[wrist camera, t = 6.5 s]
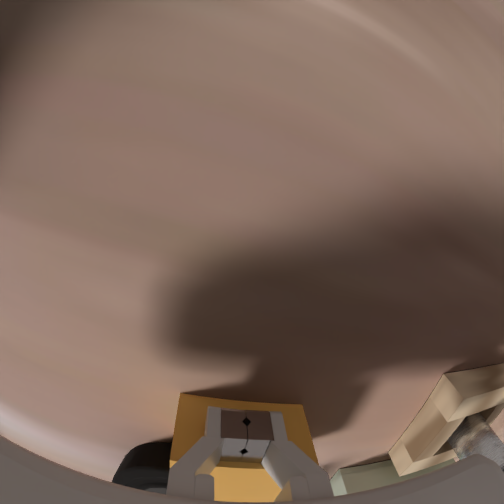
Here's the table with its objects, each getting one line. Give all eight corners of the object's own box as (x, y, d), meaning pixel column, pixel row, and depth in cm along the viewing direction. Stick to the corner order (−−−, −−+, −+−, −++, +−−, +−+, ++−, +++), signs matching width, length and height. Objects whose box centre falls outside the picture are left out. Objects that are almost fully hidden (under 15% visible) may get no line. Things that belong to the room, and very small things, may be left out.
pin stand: (504, 362, 15) (522, 380, 12) (455, 433, 17) (467, 451, 15) (443, 373, 14) (464, 398, 11) (388, 452, 16) (399, 476, 14)
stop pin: (478, 387, 15) (536, 460, 7) (453, 422, 16) (501, 494, 8) (448, 394, 14) (510, 482, 6) (422, 431, 16) (470, 516, 7)
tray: (444, 444, 17) (458, 466, 14) (401, 488, 20) (410, 507, 17) (339, 468, 16) (349, 500, 13) (304, 507, 18) (310, 532, 16)
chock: (301, 403, 13) (319, 467, 9) (281, 446, 14) (291, 501, 11) (180, 392, 12) (169, 460, 9) (177, 437, 14) (170, 495, 10)
